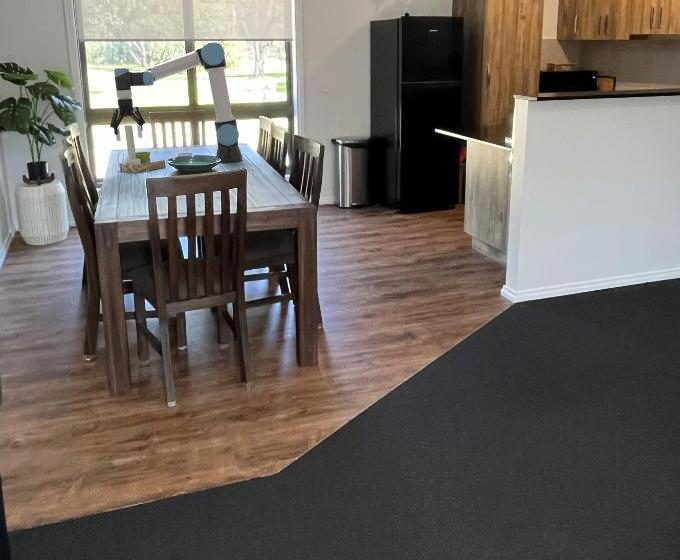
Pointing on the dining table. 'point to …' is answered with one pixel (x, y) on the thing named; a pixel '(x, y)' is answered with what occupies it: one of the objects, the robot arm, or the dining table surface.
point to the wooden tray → (142, 166)
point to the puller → (131, 146)
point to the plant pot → (143, 157)
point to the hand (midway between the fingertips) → (129, 139)
